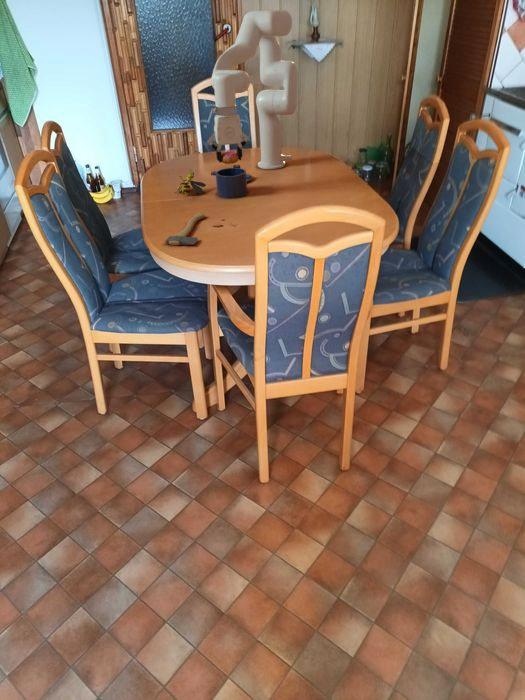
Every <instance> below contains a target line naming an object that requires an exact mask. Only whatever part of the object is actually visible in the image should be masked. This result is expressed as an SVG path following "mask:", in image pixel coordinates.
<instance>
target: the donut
mask: <svg viewBox="0 0 525 700" xmlns="http://www.w3.org/2000/svg"><path fill="white" fill-rule="evenodd" d="M221 156H222V162H221V163H223V164H228V165H231V164H233V165H234V164H235V163H238V161H239V156H238V154H237V151H232V150H227V151H223V152H221Z"/></svg>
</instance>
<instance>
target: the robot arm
mask: <svg viewBox="0 0 525 700" xmlns="http://www.w3.org/2000/svg"><path fill="white" fill-rule="evenodd" d="M292 27H293V18H292V15H291V13H290V12H289V10H285V9H284V10H283V9H282V10H281V9H279V10H278V9H277V10H271V9H270V10H251V11H248V12H246V13H245V14H244V16H243V20H242V21H241V25H240V27H239V30H238V33H237V36H236V38H235V42H234V43H233V44H231V46H229V47H228V48H227V49H226V50H224V52H223V53H222V54H221V55H219V57H218V58H217V60H216V62H215V65H214V66H213V67H214V68H213V70H212V74H211V87H212V88H213V90H214V101H215V102H214V103H215V106H214V108H211V112H212V113H211V114H215V115H214V118H213V120H214V121H213V133H212V135H211V136H210V137H209V139H207V141H206V142H207V144H208V145H209V146H210V147H211V148H212V149H213V150H214V151H215V153H216V160H217V161H218V163H223V162H222V156H221V155H222V151H221V149H222V146H228V145H237V147H236V153H237V154H238V156H239V159H238V161H242V158H243V148H244V147H245V146H246V144H247V142H248V140H249V139H250V137H249V135H247V134H246V133H245V132H243V129H242V123H241V117H240V114H239V113H237V97H236V94H244V93H245V92H246V91H248V90H249V88H250V84H251V78H250V75H249V73H247V72H246V71H245V70H240V69H232V68H234V67H235V66H238V65H240V64H243V63H245V62H247V61H250V60H252V59H253V58H254V57H255V56H256V53H257V51H258V47H259V78H260V82H261V84H262V85H264V86H267V87H283V89H263V90H261V91H259V92H258V93H257V95H256V98H255V104H256V109H257V114H258V122H259V123H258V124H259V125H258V126H259V145H260V147H259V148H260V161H259V162H257V167H258V168H259V169H262V170H278V169H281V168H284V167H285V166H286V161H291V160H293V156H292V154H290V155H288V154H283V153H282V151H283V150H282V124H281V121H280V118H279V117H278V115H280V116H281V115H283V116H290V115H293V114H294V113H295V112H296V110H297V104H298V83H299V81H298V80H299V75H298V74H299V72H298V67H297V64H296V63H295V62H294V61H292V60H282V58H281V50H282V47H281V44H280V42H279V40H278V38H277V37H286V36H288V35H289V34H290V32H291V31H292ZM213 141H214V142H215V143H216V145H215V144H214V143H213Z"/></svg>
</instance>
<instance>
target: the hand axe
mask: <svg viewBox="0 0 525 700" xmlns="http://www.w3.org/2000/svg"><path fill="white" fill-rule="evenodd" d="M204 218H205V214H204V213H202V212H196V214H194V215H193V216H192V217H191V218H190V219H189V220H188V221H187V223H186V225H185V227H184V228H183V229H182V230H181V231H179V232H177V233H176V234H174V236H173V235H170V236H168V238H166V239H165V244H166V245H170V246H189V245H190V246H191V245H195V244H196V243H197V242H198V240H199V237H192V236H189V235H190V233H191V232H192V230H193V229H194V226H195V224H196V223H197V222H198V221H199V220H202V219H204Z"/></svg>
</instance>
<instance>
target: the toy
mask: <svg viewBox="0 0 525 700" xmlns="http://www.w3.org/2000/svg"><path fill="white" fill-rule="evenodd" d="M189 171H191V172H190V173H189V174H188V175H187V176H186V179H183V177H182V175H178V176H179V178H180V179H181V180H182V181H183V182H180V184H179V185H178V187H177V189H176V190H175V192H174V194H177V192H178V191H181V193H180V194H181V195H184V194H185V196H188V195H189V194H190V192H191V190H192V189H193V190H194V191H195V192H196V193H197V194H204V193H205V192H204V189H202V188H205V187H206V186H207V185H206V183H204V182H201V181H195V180H192V179H193V178H195V172H196V169H194V171H192V169H188V170H187V172H189ZM189 184H190V185H191V186H190V185H189ZM191 188H192V189H191Z"/></svg>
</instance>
